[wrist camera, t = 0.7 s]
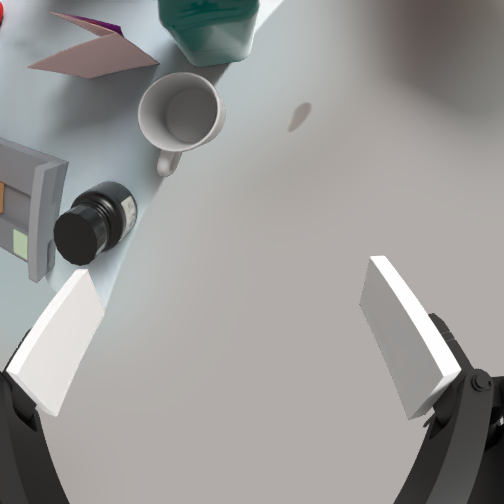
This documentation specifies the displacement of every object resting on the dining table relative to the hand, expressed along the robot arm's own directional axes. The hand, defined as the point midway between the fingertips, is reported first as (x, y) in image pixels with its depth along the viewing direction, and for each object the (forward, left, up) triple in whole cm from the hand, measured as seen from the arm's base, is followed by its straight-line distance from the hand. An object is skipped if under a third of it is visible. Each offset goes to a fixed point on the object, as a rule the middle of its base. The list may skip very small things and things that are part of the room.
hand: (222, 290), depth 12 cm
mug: (-8, -4, -28) cm, 29 cm away
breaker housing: (-9, -40, -28) cm, 49 cm away
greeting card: (-21, -12, -28) cm, 37 cm away
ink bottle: (0, -19, -28) cm, 34 cm away
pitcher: (-20, +3, -28) cm, 35 cm away
